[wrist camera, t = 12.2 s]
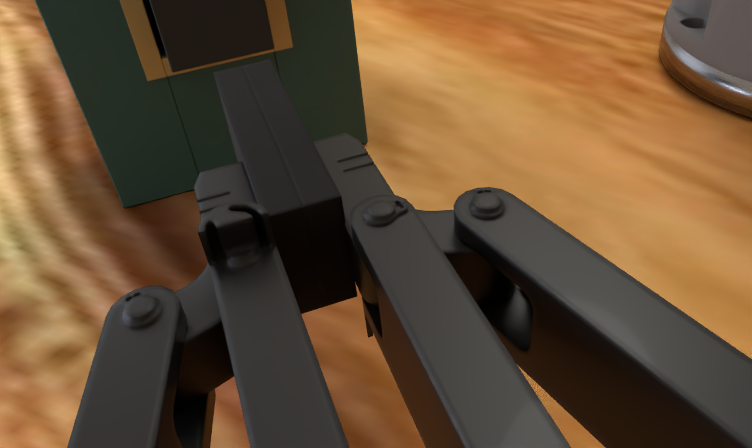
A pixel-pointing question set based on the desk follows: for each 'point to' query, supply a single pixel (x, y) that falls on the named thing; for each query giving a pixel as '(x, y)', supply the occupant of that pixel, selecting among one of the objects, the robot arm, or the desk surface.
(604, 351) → the robot arm
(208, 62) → the button
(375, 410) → the desk surface
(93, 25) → the teal green box
